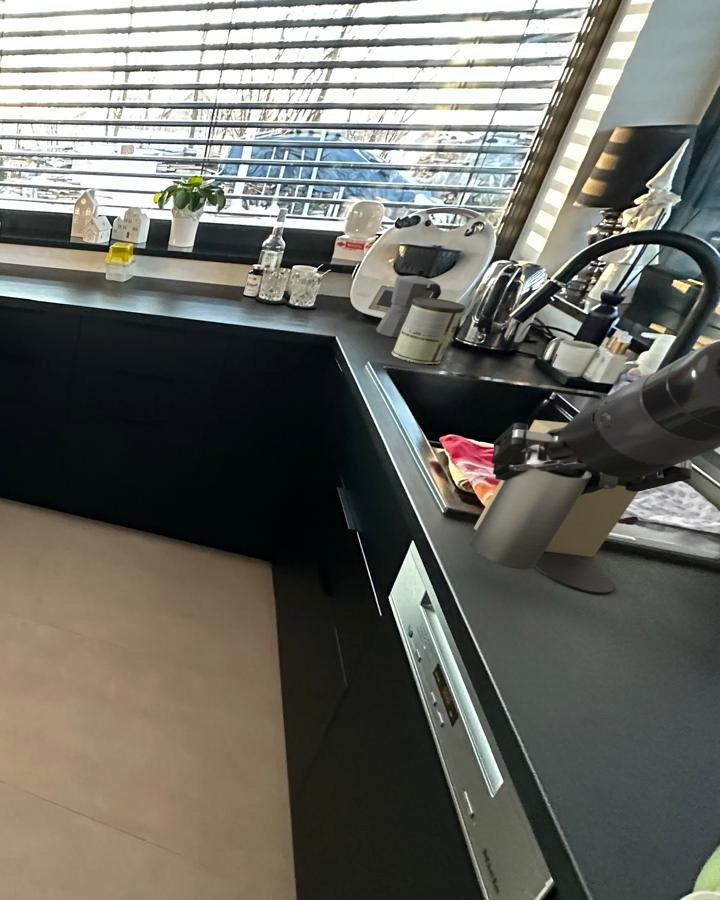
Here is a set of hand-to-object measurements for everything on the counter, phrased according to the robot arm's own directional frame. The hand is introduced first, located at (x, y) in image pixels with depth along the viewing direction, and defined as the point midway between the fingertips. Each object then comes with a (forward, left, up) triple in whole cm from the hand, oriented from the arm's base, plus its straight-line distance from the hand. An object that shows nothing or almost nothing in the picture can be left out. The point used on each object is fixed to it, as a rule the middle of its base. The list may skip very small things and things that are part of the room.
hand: (536, 479), depth 70 cm
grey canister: (0, +2, -9) cm, 9 cm away
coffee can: (-42, -96, -15) cm, 106 cm away
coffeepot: (-48, -117, -15) cm, 128 cm away
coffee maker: (-12, -4, -15) cm, 19 cm away
